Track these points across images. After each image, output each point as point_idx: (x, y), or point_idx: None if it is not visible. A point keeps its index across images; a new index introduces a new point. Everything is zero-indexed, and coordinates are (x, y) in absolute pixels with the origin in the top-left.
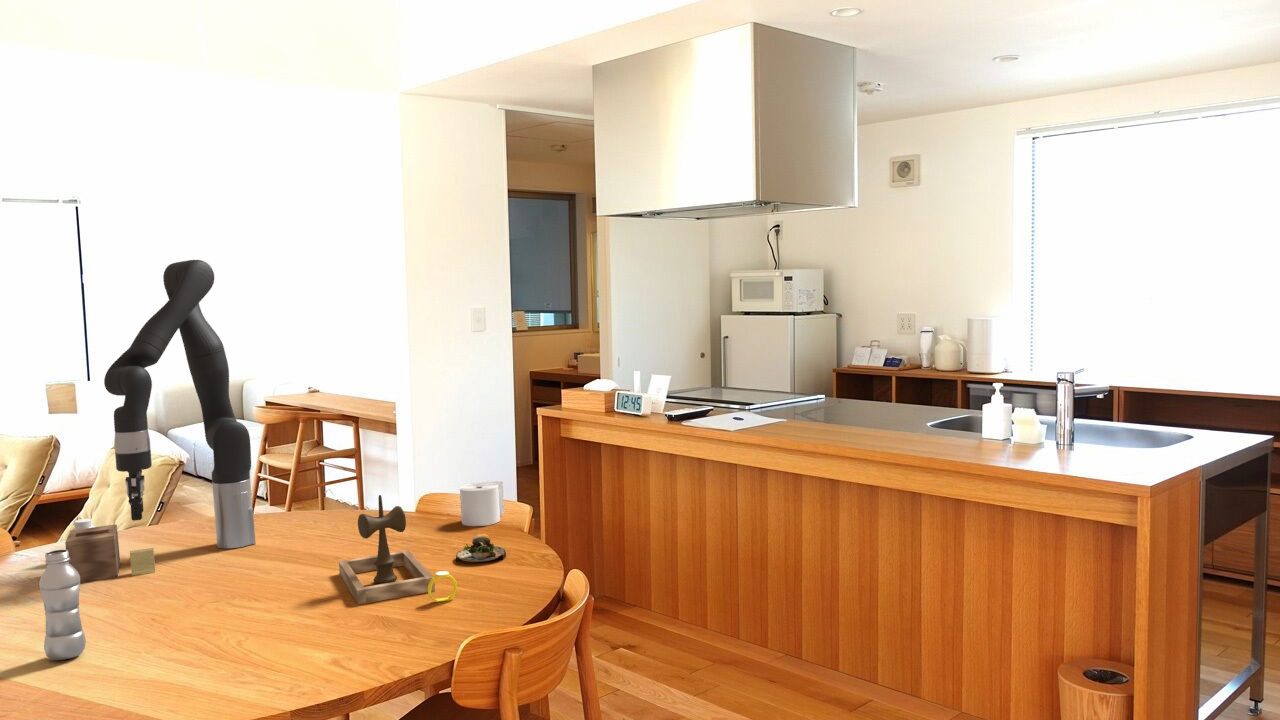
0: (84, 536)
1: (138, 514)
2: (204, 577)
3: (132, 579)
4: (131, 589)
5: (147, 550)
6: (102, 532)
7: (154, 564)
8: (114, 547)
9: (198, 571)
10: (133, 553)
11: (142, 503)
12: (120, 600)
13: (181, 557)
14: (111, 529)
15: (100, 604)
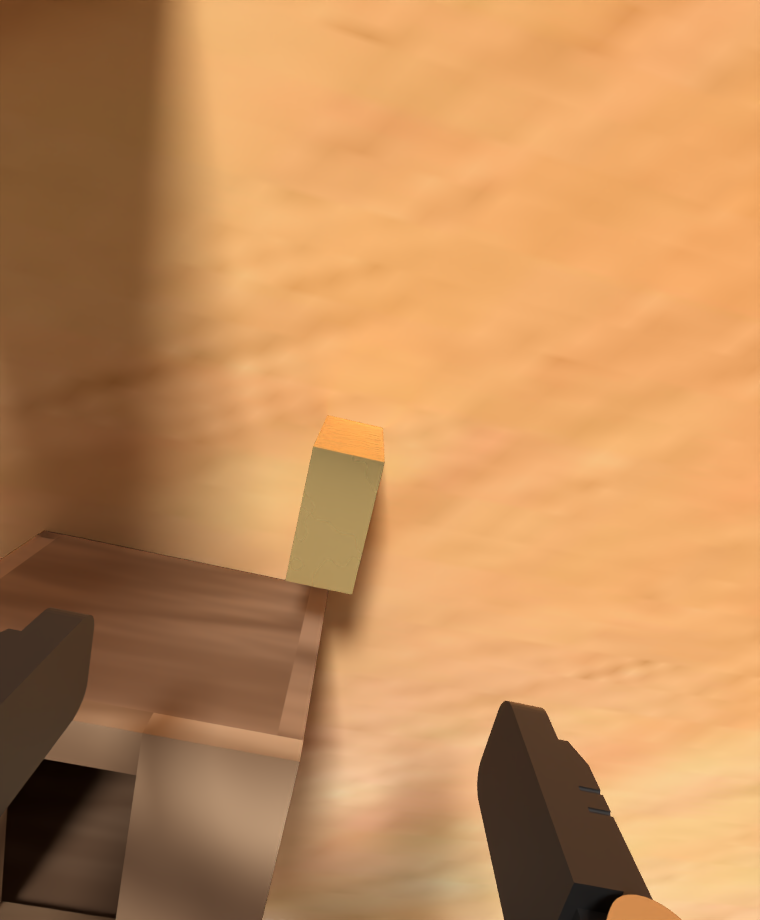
0: (142, 902)
1: (588, 793)
2: (733, 237)
3: (432, 543)
4: (613, 581)
5: (365, 494)
6: None
7: (380, 437)
8: (308, 697)
9: (572, 228)
10: (356, 573)
11: (16, 689)
12: (749, 647)
13: (143, 221)
14: None
15: (730, 714)
